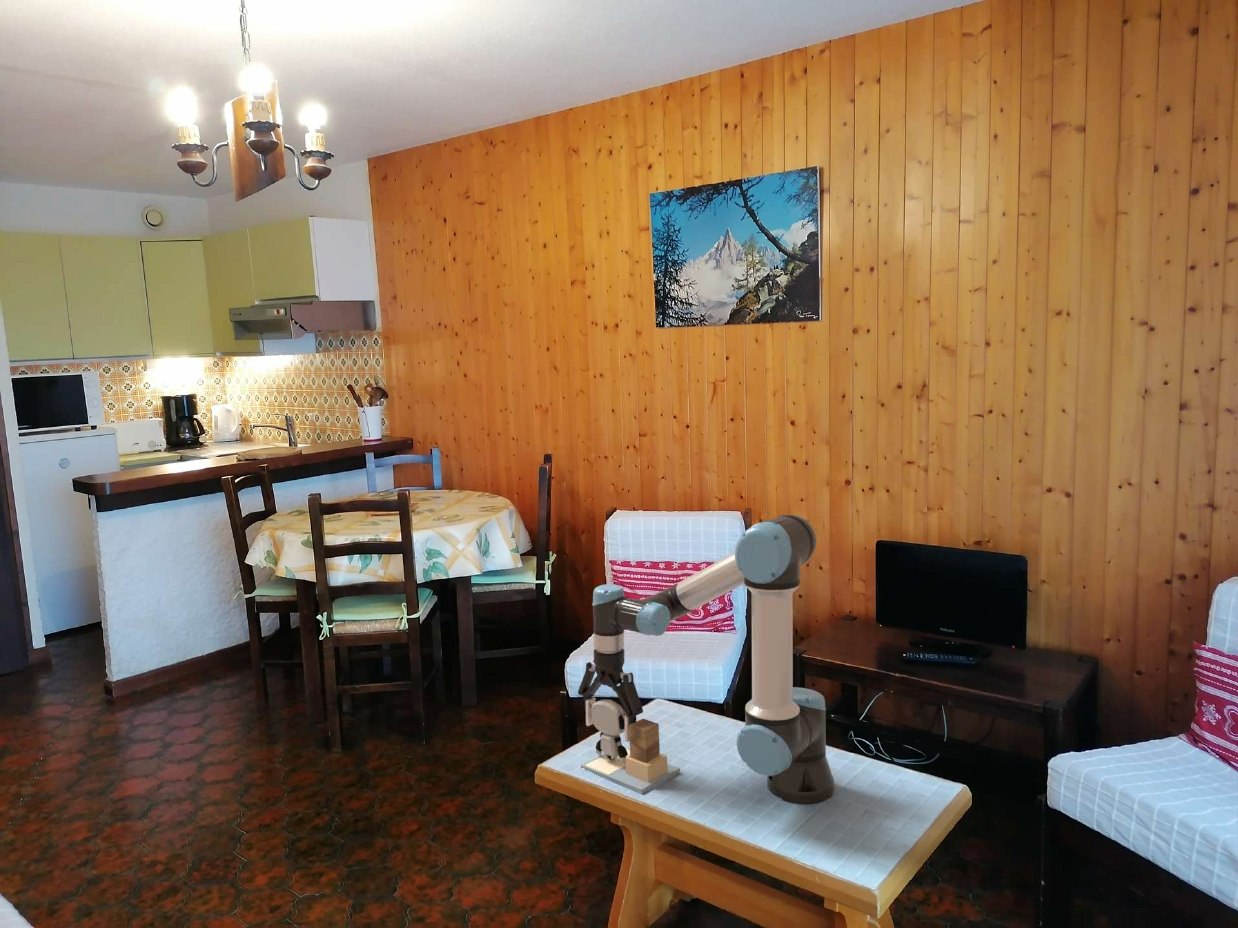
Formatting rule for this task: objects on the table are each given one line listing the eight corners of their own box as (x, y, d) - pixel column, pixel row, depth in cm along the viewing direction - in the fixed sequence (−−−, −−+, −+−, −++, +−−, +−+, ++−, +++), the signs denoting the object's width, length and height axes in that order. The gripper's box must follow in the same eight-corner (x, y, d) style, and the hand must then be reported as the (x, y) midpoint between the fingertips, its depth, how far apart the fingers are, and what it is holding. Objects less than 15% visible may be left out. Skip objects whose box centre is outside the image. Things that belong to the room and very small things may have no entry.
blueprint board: (680, 772, 211) (679, 751, 211) (641, 794, 201) (640, 772, 201) (619, 749, 225) (619, 730, 225) (580, 769, 215) (579, 749, 214)
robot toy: (638, 761, 214) (632, 701, 213) (624, 768, 211) (619, 707, 210) (603, 750, 223) (598, 692, 222) (590, 756, 219) (585, 698, 218)
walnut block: (659, 755, 209) (658, 723, 208) (645, 763, 206) (644, 730, 205) (644, 750, 213) (642, 718, 212) (630, 757, 209) (628, 724, 208)
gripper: (657, 656, 208) (657, 741, 211) (584, 633, 225) (585, 712, 228) (636, 664, 203) (636, 752, 205) (563, 640, 219) (564, 722, 222)
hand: (610, 731), depth 216 cm, fingers closed on robot toy, 13 cm apart
